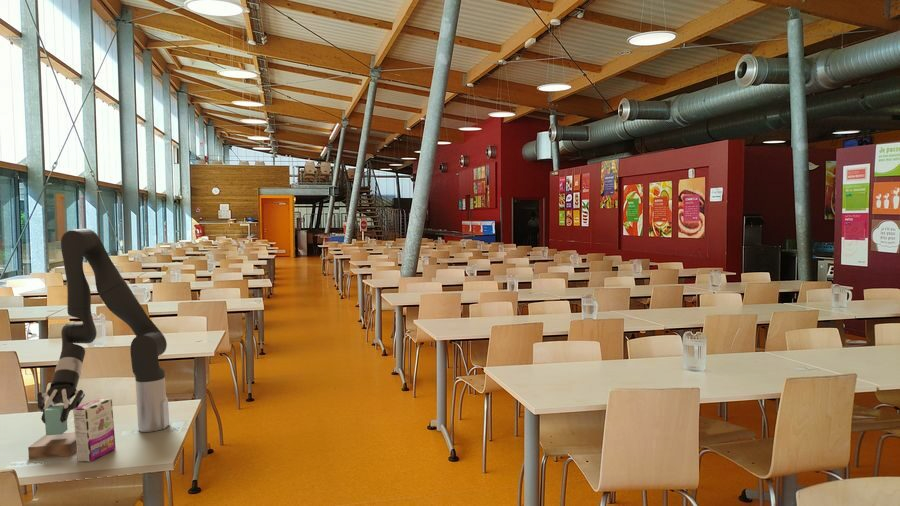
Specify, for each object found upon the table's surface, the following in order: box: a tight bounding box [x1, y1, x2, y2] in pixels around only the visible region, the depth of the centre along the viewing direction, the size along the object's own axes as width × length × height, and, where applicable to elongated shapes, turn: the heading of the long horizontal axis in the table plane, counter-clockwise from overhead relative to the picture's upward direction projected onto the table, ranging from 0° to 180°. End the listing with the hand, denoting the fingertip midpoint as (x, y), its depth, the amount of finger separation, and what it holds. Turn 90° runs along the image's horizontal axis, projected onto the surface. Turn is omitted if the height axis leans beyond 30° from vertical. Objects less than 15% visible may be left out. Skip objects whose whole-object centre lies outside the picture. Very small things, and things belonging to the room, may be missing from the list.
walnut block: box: [27, 431, 77, 460], centre depth 209 cm, size 12×12×4 cm
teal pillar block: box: [44, 404, 69, 435], centre depth 209 cm, size 4×4×8 cm
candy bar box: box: [72, 397, 117, 463], centre depth 203 cm, size 11×5×16 cm, turn 168°
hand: (53, 421), depth 207 cm, fingers closed on teal pillar block, 4 cm apart
